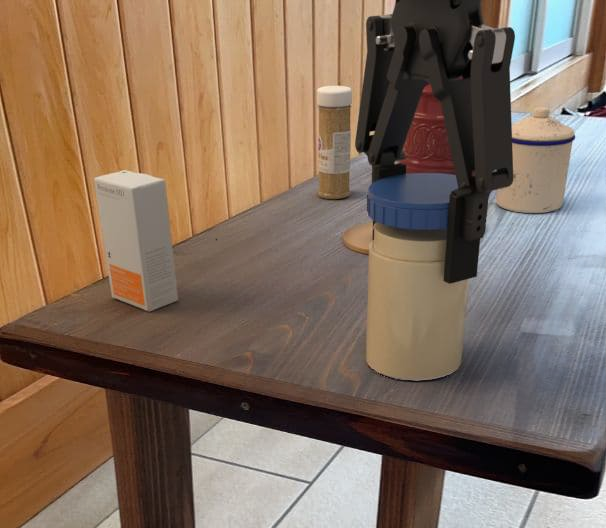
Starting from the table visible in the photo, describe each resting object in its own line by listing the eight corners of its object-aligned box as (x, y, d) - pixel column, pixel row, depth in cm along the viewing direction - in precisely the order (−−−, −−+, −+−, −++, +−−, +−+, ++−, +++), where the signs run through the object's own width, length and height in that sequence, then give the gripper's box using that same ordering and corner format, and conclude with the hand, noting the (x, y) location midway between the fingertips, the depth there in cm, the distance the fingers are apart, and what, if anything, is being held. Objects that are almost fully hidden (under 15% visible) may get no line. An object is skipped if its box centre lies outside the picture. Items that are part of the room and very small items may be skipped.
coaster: (448, 228, 106) (448, 223, 105) (437, 259, 96) (437, 254, 96) (353, 223, 108) (353, 218, 108) (333, 253, 99) (333, 248, 98)
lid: (345, 209, 69) (345, 185, 68) (434, 190, 72) (435, 166, 71) (413, 238, 63) (414, 211, 61) (507, 215, 66) (510, 190, 65)
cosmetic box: (110, 299, 88) (91, 177, 81) (142, 287, 91) (126, 168, 84) (148, 313, 85) (131, 187, 78) (180, 301, 87) (167, 178, 80)
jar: (465, 345, 78) (478, 213, 71) (456, 385, 71) (470, 245, 64) (374, 337, 79) (378, 208, 72) (357, 376, 73) (360, 239, 66)
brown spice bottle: (312, 194, 119) (311, 86, 111) (341, 189, 121) (341, 83, 113) (327, 202, 116) (326, 91, 108) (356, 197, 117) (358, 88, 109)
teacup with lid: (561, 196, 116) (576, 101, 109) (567, 215, 109) (583, 115, 102) (472, 194, 118) (481, 100, 111) (471, 213, 110) (481, 114, 104)
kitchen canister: (477, 161, 132) (490, 30, 122) (490, 183, 122) (505, 41, 111) (393, 163, 133) (399, 32, 122) (399, 184, 122) (406, 43, 112)
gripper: (307, -75, 62) (313, 237, 76) (511, -75, 47) (473, 313, 61) (390, -78, 65) (382, 222, 79) (606, -80, 50) (550, 291, 64)
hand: (422, 261), depth 70 cm, fingers closed on lid, 9 cm apart
